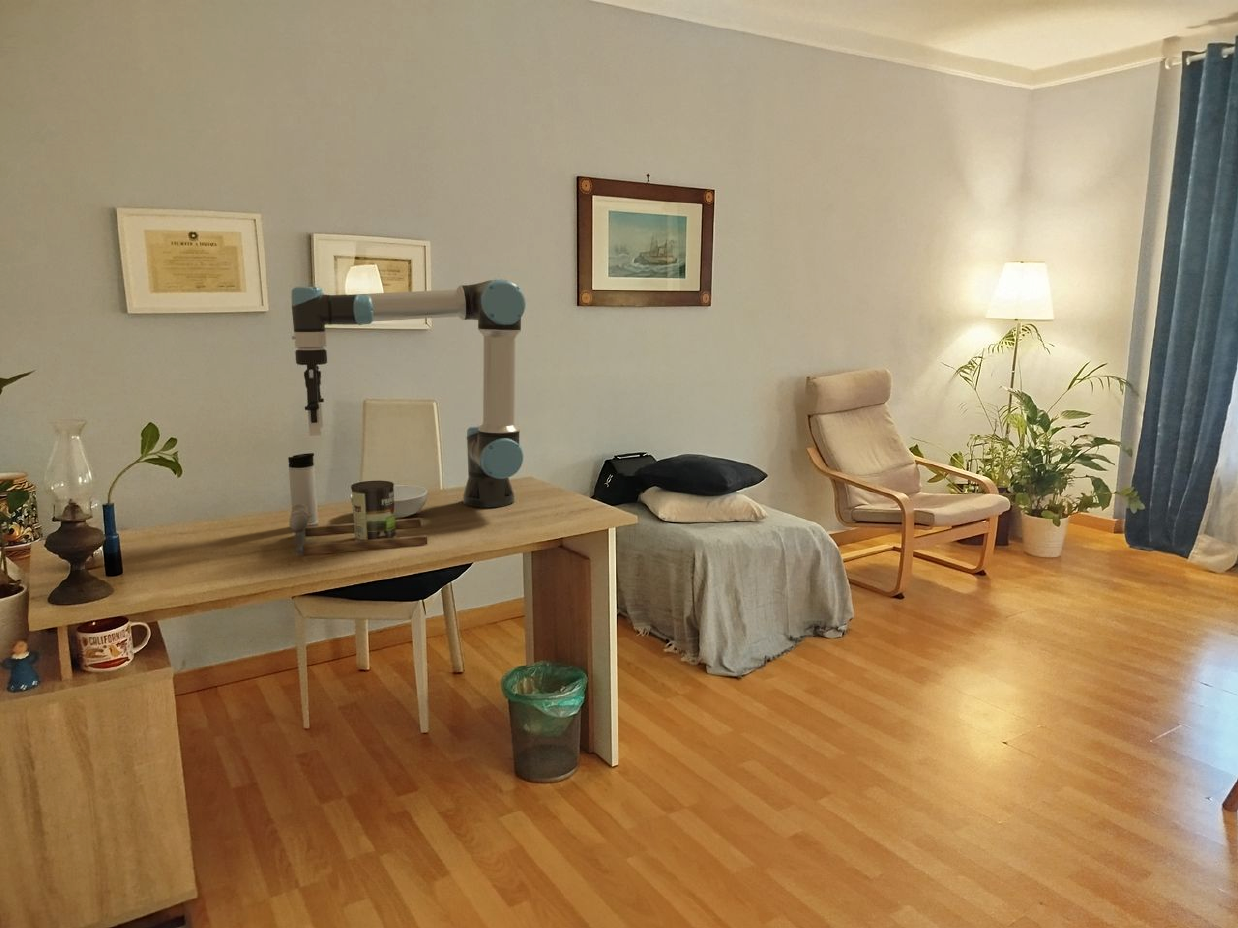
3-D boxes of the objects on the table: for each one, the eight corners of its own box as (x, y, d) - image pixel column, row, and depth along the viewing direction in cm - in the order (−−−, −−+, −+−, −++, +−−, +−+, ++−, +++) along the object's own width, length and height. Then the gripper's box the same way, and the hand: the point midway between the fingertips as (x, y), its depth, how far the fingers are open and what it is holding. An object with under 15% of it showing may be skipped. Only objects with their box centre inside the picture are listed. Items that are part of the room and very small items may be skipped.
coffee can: (403, 534, 220) (400, 480, 218) (385, 545, 210) (382, 489, 208) (366, 532, 222) (362, 479, 219) (346, 543, 212) (343, 488, 210)
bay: (420, 525, 229) (418, 492, 227) (427, 544, 211) (425, 509, 209) (294, 535, 219) (291, 501, 217) (290, 556, 201) (287, 519, 200)
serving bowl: (426, 505, 251) (425, 482, 250) (430, 523, 231) (429, 498, 230) (352, 510, 246) (351, 486, 244) (350, 528, 226) (349, 503, 224)
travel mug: (311, 530, 223) (305, 455, 219) (288, 529, 225) (282, 454, 221) (324, 524, 229) (319, 451, 226) (301, 523, 231) (296, 450, 227)
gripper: (298, 346, 227) (303, 425, 231) (291, 352, 204) (298, 439, 208) (327, 345, 229) (332, 423, 233) (324, 351, 206) (330, 438, 210)
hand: (316, 431), depth 220 cm, fingers open, 13 cm apart
